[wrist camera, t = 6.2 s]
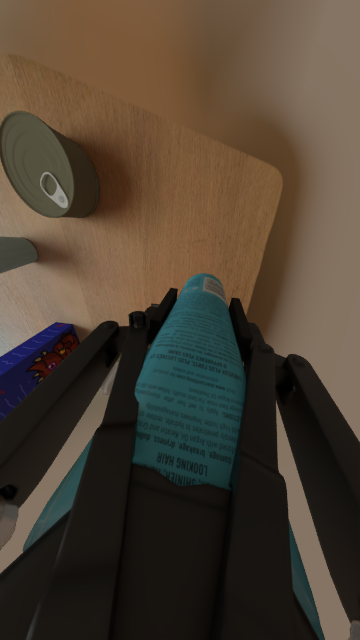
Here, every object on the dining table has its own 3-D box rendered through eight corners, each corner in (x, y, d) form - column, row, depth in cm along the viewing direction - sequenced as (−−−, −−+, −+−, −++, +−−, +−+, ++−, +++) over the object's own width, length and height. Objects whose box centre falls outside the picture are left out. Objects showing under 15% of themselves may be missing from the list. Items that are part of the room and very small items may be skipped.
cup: (37, 272, 42) (-9, 285, 33) (9, 250, 40) (-49, 257, 31) (46, 250, 38) (-4, 258, 29) (15, 225, 36) (-49, 224, 27)
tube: (174, 305, 21) (55, 558, 5) (175, 269, 19) (-49, 550, 3) (229, 313, 20) (292, 644, 4) (239, 276, 18) (483, 756, 2)
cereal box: (55, 322, 50) (-104, 421, 25) (72, 324, 49) (-75, 429, 24) (77, 369, 61) (-17, 470, 36) (91, 371, 61) (5, 476, 35)
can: (58, 113, 25) (12, 79, 19) (112, 187, 29) (88, 178, 23) (30, 175, 30) (-12, 164, 25) (80, 232, 34) (53, 233, 29)
